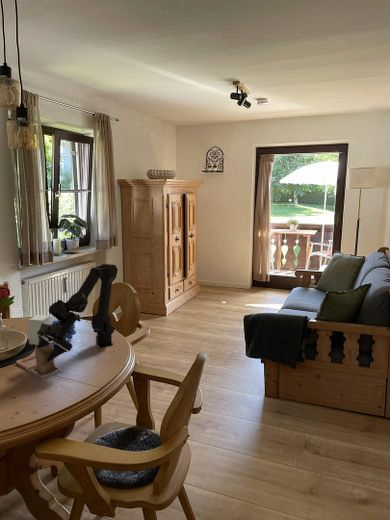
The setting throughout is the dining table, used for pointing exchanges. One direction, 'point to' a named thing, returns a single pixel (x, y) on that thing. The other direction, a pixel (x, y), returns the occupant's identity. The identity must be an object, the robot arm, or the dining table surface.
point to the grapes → (73, 332)
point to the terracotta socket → (26, 360)
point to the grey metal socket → (45, 374)
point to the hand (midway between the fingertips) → (41, 358)
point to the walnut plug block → (44, 360)
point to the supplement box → (36, 327)
